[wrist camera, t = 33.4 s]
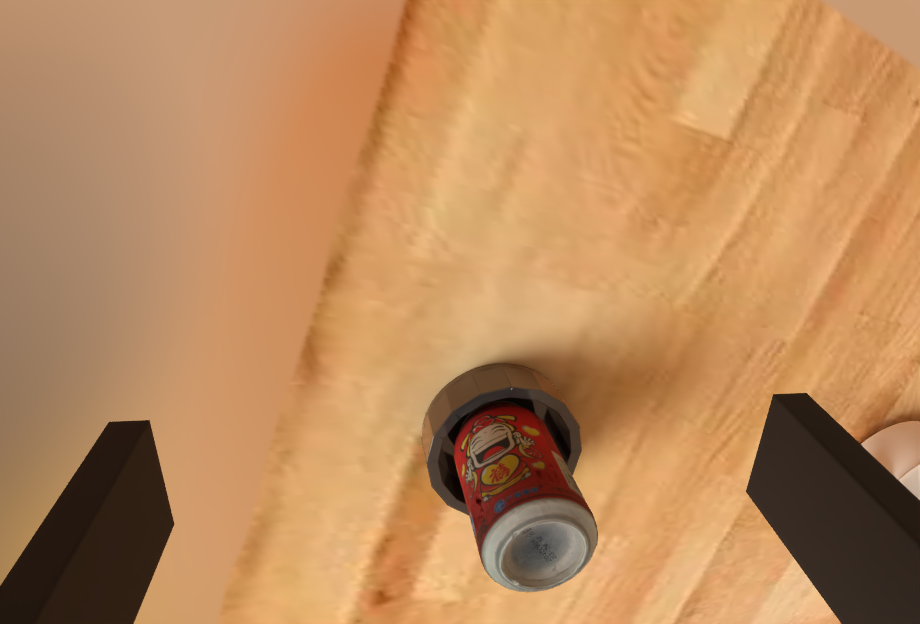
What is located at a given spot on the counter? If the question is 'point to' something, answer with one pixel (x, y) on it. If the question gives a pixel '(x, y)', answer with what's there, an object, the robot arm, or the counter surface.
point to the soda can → (522, 499)
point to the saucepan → (899, 452)
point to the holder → (482, 389)
